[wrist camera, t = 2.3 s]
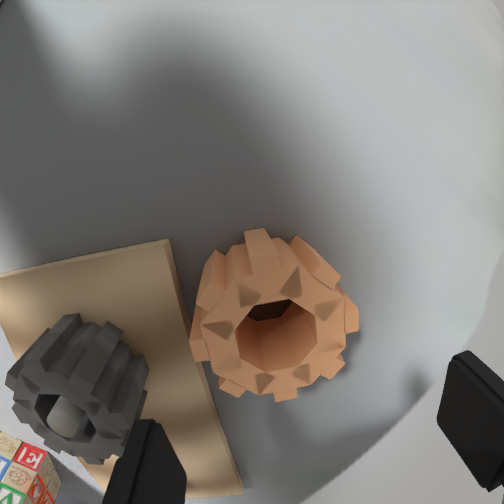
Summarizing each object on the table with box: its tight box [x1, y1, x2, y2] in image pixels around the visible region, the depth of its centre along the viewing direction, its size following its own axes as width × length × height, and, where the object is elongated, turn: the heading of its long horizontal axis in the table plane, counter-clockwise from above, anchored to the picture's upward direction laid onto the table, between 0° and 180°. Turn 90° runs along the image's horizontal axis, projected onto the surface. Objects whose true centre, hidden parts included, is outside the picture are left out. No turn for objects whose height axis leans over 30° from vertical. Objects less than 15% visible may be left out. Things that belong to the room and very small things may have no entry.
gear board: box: [0, 238, 243, 498], centre depth 16 cm, size 22×13×7 cm, turn 9°
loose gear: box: [189, 228, 359, 402], centre depth 16 cm, size 7×7×5 cm
